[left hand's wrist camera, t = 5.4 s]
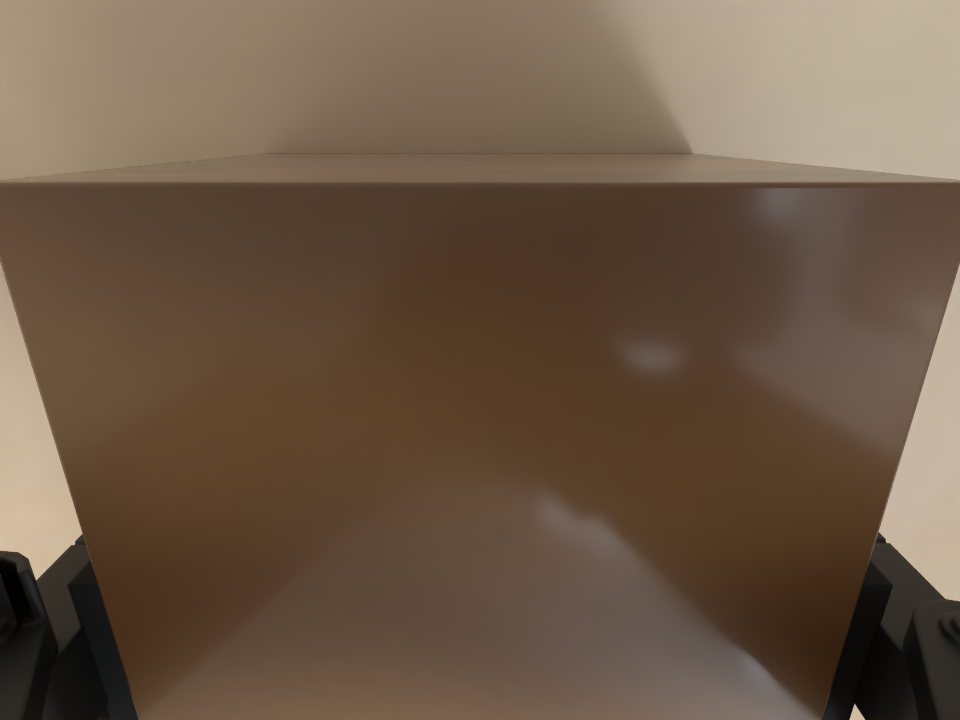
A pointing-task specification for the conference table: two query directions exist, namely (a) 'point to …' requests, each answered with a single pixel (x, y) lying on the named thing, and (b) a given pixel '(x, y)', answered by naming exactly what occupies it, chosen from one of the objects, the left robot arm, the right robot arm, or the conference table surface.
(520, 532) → the thick board
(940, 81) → the conference table surface
